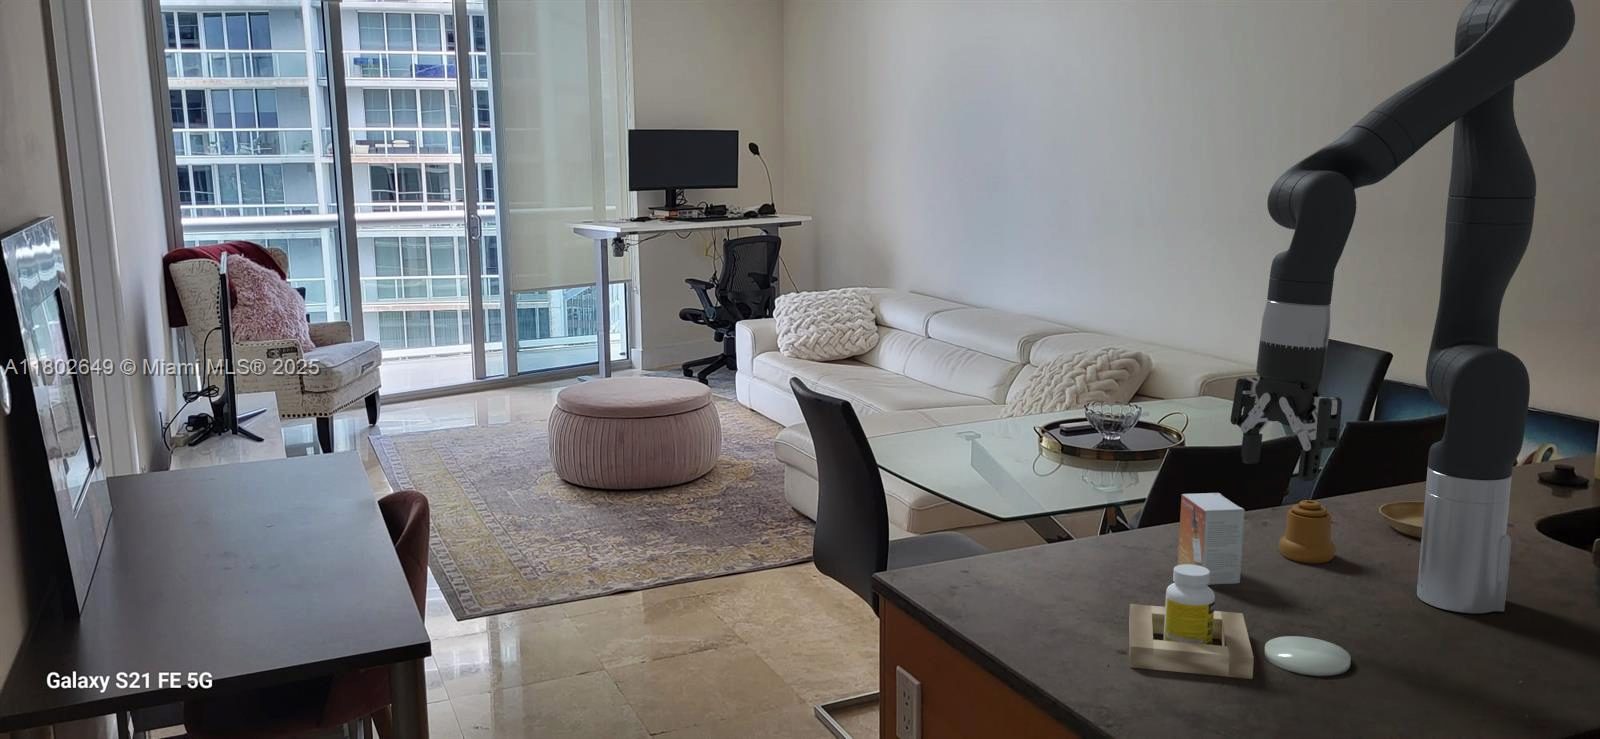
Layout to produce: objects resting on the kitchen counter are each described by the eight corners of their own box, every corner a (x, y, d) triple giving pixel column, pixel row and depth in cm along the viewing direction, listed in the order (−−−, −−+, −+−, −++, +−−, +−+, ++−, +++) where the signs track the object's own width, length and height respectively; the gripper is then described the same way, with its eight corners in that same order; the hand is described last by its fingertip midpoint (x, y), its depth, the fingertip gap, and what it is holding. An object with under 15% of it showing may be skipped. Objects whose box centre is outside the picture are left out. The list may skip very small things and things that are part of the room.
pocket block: (1241, 632, 142) (1242, 613, 141) (1252, 679, 129) (1253, 657, 129) (1129, 623, 145) (1130, 603, 145) (1129, 667, 133) (1130, 646, 132)
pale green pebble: (1342, 646, 137) (1343, 640, 137) (1357, 679, 129) (1357, 672, 129) (1260, 639, 140) (1260, 633, 140) (1269, 671, 131) (1269, 664, 131)
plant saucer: (1356, 521, 184) (1357, 505, 183) (1431, 512, 188) (1432, 496, 188) (1432, 551, 170) (1433, 534, 169) (1511, 540, 174) (1513, 523, 174)
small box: (1176, 565, 165) (1180, 493, 163) (1215, 563, 165) (1219, 491, 163) (1200, 586, 157) (1204, 510, 155) (1241, 584, 158) (1245, 508, 156)
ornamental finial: (1329, 568, 163) (1272, 559, 167) (1339, 553, 169) (1284, 544, 173) (1333, 513, 161) (1276, 504, 166) (1343, 499, 168) (1288, 492, 172)
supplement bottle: (1215, 661, 134) (1219, 579, 132) (1165, 657, 135) (1169, 576, 133) (1208, 642, 139) (1212, 563, 137) (1161, 638, 140) (1164, 560, 139)
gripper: (1366, 348, 136) (1348, 484, 138) (1269, 330, 148) (1254, 455, 151) (1320, 350, 132) (1302, 489, 135) (1225, 331, 145) (1210, 459, 148)
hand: (1277, 471), depth 143 cm, fingers open, 8 cm apart
